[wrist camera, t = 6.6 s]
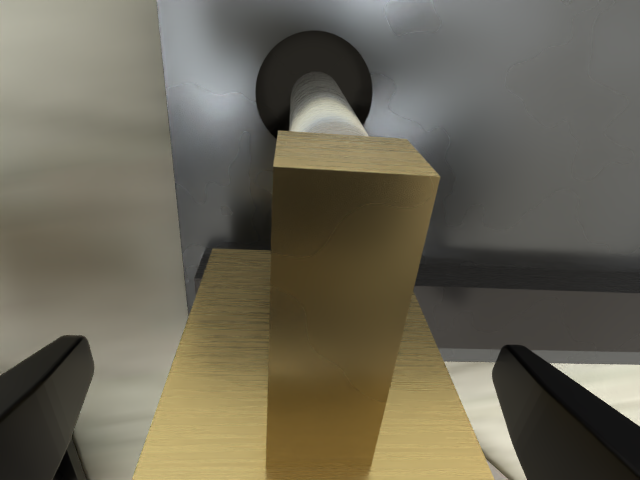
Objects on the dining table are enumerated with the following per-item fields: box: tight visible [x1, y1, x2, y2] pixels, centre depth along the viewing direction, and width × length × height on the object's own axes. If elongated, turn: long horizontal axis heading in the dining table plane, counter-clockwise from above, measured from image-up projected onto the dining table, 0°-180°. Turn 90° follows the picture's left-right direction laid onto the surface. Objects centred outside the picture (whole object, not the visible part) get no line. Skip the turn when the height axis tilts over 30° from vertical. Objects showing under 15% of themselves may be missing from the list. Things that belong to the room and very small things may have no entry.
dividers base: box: [157, 0, 640, 365], centre depth 9 cm, size 10×20×4 cm, turn 86°
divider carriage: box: [132, 72, 494, 480], centre depth 7 cm, size 8×4×7 cm, turn 176°
